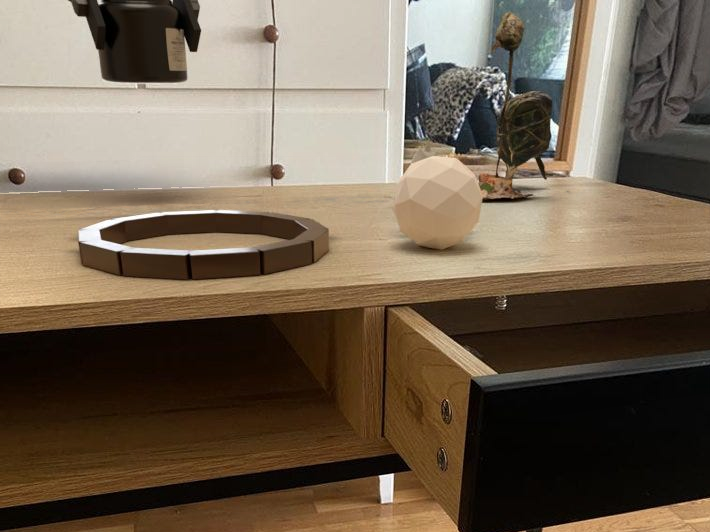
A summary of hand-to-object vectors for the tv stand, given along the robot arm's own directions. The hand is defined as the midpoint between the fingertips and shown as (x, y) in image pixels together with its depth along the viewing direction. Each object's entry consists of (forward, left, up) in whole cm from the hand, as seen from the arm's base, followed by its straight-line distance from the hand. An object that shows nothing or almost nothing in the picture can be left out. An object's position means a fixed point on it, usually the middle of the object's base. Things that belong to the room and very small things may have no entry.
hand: (149, 39), depth 76 cm
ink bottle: (-1, +3, -4) cm, 5 cm away
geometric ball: (+21, -26, -17) cm, 37 cm away
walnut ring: (+1, -22, -17) cm, 27 cm away
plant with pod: (+42, 0, -17) cm, 45 cm away
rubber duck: (+26, -11, -17) cm, 33 cm away
